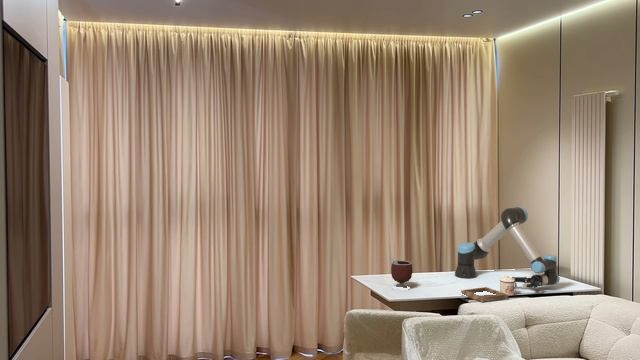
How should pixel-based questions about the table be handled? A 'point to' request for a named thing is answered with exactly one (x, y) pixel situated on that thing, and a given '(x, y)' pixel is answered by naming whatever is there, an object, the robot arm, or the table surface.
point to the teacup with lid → (507, 285)
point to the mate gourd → (401, 271)
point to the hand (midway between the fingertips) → (514, 283)
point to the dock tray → (485, 298)
